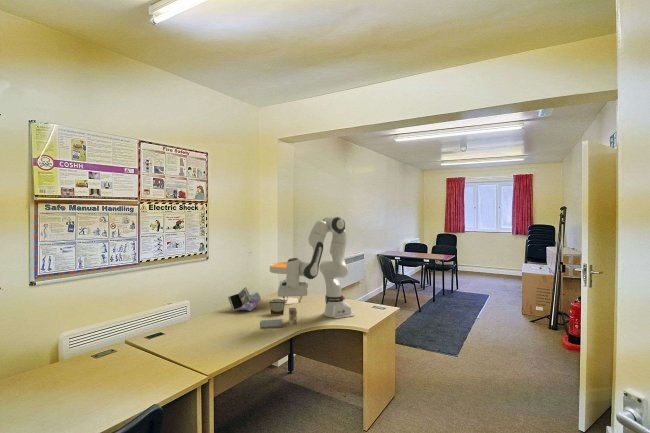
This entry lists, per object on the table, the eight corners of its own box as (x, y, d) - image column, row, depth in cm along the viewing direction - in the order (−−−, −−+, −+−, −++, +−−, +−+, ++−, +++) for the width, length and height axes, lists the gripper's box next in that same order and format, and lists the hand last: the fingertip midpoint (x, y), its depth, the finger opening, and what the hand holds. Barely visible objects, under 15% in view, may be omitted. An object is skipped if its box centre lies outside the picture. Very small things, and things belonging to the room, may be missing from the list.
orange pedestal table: (292, 295, 300) (292, 260, 300) (311, 302, 278) (312, 264, 277) (263, 300, 282) (263, 264, 281) (281, 308, 259) (281, 268, 258)
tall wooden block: (295, 320, 230) (295, 307, 230) (296, 324, 221) (296, 311, 221) (288, 320, 229) (288, 307, 229) (289, 325, 221) (289, 311, 221)
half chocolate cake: (287, 312, 249) (287, 299, 249) (285, 314, 243) (285, 301, 243) (271, 311, 250) (271, 298, 250) (268, 314, 244) (268, 300, 244)
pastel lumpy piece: (266, 300, 265) (255, 281, 266) (257, 306, 243) (245, 285, 245) (245, 312, 267) (235, 293, 268) (234, 320, 245) (223, 299, 247)
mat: (281, 320, 230) (281, 319, 230) (283, 327, 216) (283, 325, 216) (261, 321, 228) (261, 320, 228) (261, 328, 214) (261, 327, 214)
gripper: (307, 281, 230) (307, 300, 230) (277, 281, 226) (277, 301, 226) (308, 282, 224) (308, 303, 224) (277, 283, 220) (277, 304, 220)
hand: (292, 302), depth 225 cm, fingers open, 8 cm apart
